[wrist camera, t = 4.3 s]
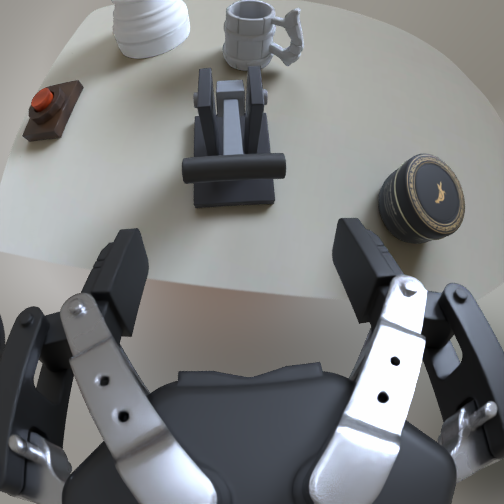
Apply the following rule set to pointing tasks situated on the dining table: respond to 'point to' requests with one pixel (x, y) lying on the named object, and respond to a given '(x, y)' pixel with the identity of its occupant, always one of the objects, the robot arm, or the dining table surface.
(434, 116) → the dining table surface
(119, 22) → the honey pot
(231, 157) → the switch lever
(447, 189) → the jar
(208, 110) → the dark stand
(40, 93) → the button
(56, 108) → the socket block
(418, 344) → the robot arm
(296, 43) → the mug
